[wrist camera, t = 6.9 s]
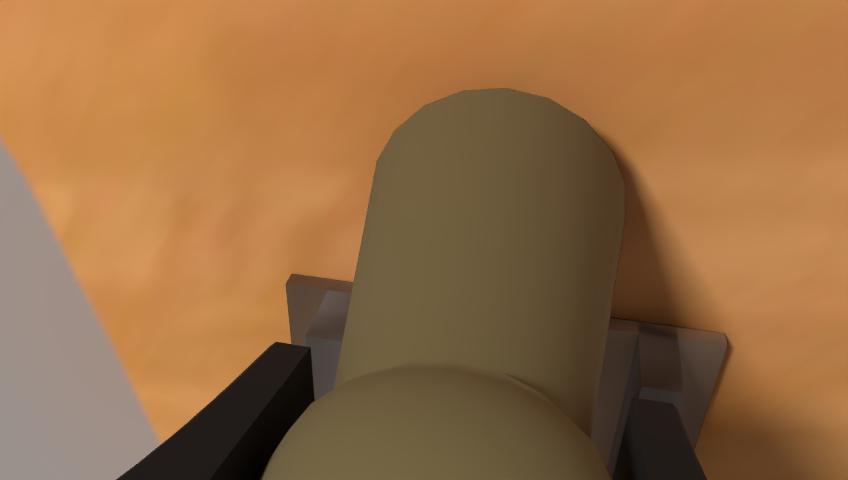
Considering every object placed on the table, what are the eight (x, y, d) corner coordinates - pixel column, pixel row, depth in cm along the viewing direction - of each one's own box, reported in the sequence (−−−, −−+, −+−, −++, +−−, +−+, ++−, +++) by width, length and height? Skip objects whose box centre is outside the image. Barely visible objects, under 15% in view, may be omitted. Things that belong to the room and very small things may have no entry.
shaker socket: (724, 333, 20) (738, 401, 18) (648, 577, 26) (651, 648, 24) (291, 274, 22) (259, 329, 20) (313, 515, 28) (291, 576, 26)
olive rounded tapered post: (557, 340, 20) (542, 838, 11) (342, 257, 20) (141, 697, 11) (676, 150, 17) (797, 642, 8) (418, 45, 16) (218, 426, 7)
